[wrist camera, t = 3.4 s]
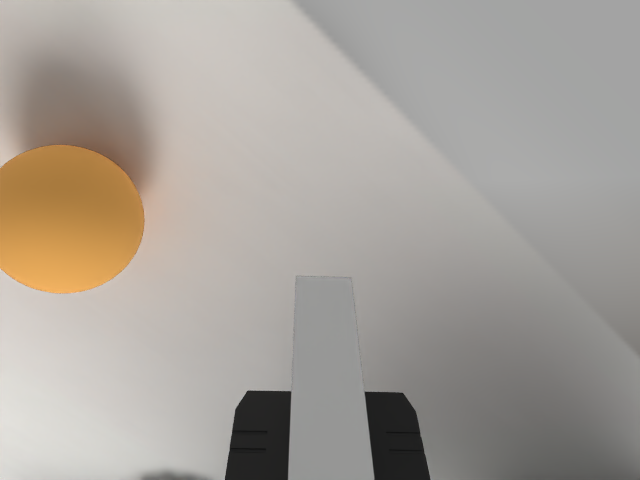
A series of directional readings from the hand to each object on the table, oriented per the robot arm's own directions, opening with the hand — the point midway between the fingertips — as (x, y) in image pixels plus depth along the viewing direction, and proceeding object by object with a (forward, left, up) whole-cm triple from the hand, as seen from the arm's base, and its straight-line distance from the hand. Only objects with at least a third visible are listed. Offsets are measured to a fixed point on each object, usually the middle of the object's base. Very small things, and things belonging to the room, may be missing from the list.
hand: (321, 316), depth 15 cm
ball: (+9, 0, -6) cm, 11 cm away
